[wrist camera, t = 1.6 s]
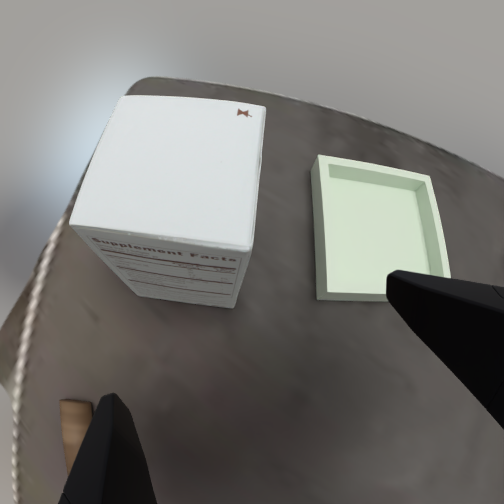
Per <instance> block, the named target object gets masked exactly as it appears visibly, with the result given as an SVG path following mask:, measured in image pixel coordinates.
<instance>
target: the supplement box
mask: <svg viewBox="0 0 504 504" xmlns="http://www.w3.org/2000/svg"><path fill="white" fill-rule="evenodd" d="M265 116H266V108H265V107H264V106H258V105H253V104H247V103H240V102H233V101H224V100H214V99H203V98H188V97H172V96H143V95H132V96H122V97H120V99H119V101H118V103H117V105H116V107H115V109H114V111H113V113H112V115H111V117H110V119H109V121H108V124H107V126H106V128H105V130H104V132H103V134H102V137H101V139H100V141H99V144H98V146H97V148H96V151H95V153H94V155H93V158H92V160H91V163H90V165H89V168H88V170H87V173H86V175H85V178H84V181H83V183H82V186H81V189H80V191H79V194H78V197H77V200H76V203H75V206H74V209H73V212H72V215H71V217H70V220H69V225H70V226H71V227H72V228H73V229H74V230H75V231H76V233H77V234H78V235H79V236H80V237H81V238H82V239H83V240H84V241H85V242H86V244H87V245H88V246H89V247H90V248H91V249H92V250H93V251H94V252H95V253H96V254H97V255H98V256H99V257H100V258H101V259H102V260H103V261H104V263H105V264H107V265H108V266H109V267H110V269H111V270H112V271H113V272H114V273H115V274H116V275H117V276H118V277H119V278H120V279H121V280H122V281H123V282H124V283H125V284H126V285H127V286H128V287H129V288H130V289H131V290H132V291H133V292H134V293H135V294H136V295H138V296H141V297H149V298H156V299H163V300H170V301H177V302H184V303H192V304H199V305H207V306H215V307H223V308H234V307H235V303H236V299H237V296H238V293H239V290H240V287H241V284H242V281H243V278H244V275H245V272H246V269H247V266H248V263H249V259H250V256H251V252H252V247H253V241H254V230H255V219H256V209H257V198H258V188H259V178H260V169H261V161H262V145H263V135H264V125H265Z"/></svg>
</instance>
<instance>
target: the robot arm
mask: <svg viewBox="0 0 504 504" xmlns="http://www.w3.org/2000/svg"><path fill="white" fill-rule="evenodd" d="M386 297H387V300H388V301H389V302H390V304H391V305H392V306H393V307H394V309H395V310H396V311H397V312H398V313H399V315H400V316H401V317H402V318H403V320H404V321H405V322H406V323H407V325H408V326H409V327H410V328H411V329H412V331H413V332H414V333H415V334H416V335H417V336H418V337H419V338H420V339H421V340H422V341H423V342H424V343H425V344H426V345H427V346H428V347H429V348H430V349H431V350H432V351H433V352H434V353H435V355H436V356H437V357H438V358H439V359H440V360H441V361H442V362H443V363H444V364H445V365H446V366H447V367H448V368H449V369H450V370H451V371H452V372H453V373H454V375H455V376H456V377H457V378H458V379H459V380H460V381H461V382H462V383H463V384H464V385H465V386H466V387H467V389H468V390H469V391H470V392H471V393H472V394H473V395H474V396H475V397H476V398H477V400H478V401H479V402H480V403H481V404H482V405H483V406H484V407H485V408H486V410H487V411H488V412H489V413H490V414H491V415H492V417H493V418H494V419H495V420H496V421H497V422H498V423H499V425H500V426H501V427H502V428H503V429H504V287H500V286H494V285H492V286H491V285H488V284H482V283H476V282H470V281H464V280H458V279H452V278H446V277H440V276H434V275H428V274H422V273H416V272H410V271H404V270H395V271H393V272H391V273H389V274H388V275H387V277H386ZM63 492H64V493H62V494H61V497H60V500H59V503H58V504H157V502H156V498H155V495H154V491H153V487H152V483H151V479H150V475H149V471H148V467H147V463H146V459H145V456H144V453H143V450H142V447H141V444H140V441H139V438H138V435H137V431H136V428H135V425H134V422H133V418H132V415H131V413H130V411H129V409H128V408H127V406H126V405H125V404H124V403H123V402H122V400H121V399H120V398H119V397H118V395H117V394H115V393H110V394H107V395H104V396H102V397H101V399H100V401H99V404H98V406H97V408H96V410H95V413H94V415H93V417H92V420H91V422H90V424H89V427H88V429H87V431H86V434H85V436H84V438H83V441H82V443H81V446H80V448H79V450H78V453H77V455H76V458H75V460H74V463H73V465H72V468H71V471H70V473H69V476H68V478H67V481H66V484H65V486H64V489H63Z"/></svg>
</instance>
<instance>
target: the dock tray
mask: <svg viewBox="0 0 504 504" xmlns="http://www.w3.org/2000/svg"><path fill="white" fill-rule="evenodd" d="M310 172H311V185H312V200H313V217H314V237H315V261H316V299H317V300H337V301H385V302H389V301H388V300H387V297H386V277H387V275H388V274H389V273H391V272H393V271H395V270H404V271H410V272H416V273H422V274H428V275H434V276H440V277H446V278H451V276H450V270H449V263H448V257H447V251H446V245H445V240H444V235H443V230H442V225H441V220H440V216H439V212H438V207H437V203H436V199H435V195H434V191H433V187H432V184H431V180H430V176H427V175H423V174H418V173H414V172H410V171H405V170H400V169H396V168H391V167H386V166H381V165H376V164H371V163H365V162H360V161H354V160H348V159H342V158H336V157H330V156H323V155H318V156H317V158H316V161H315V163H314V165H313V167H312V169H311V171H310Z"/></svg>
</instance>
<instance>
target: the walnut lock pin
mask: <svg viewBox="0 0 504 504" xmlns="http://www.w3.org/2000/svg"><path fill="white" fill-rule="evenodd" d="M59 401H60V416H61V427H62V437H63V446H64V453H65V460H66V467H67V473H68V476H69V473H70V471H71V468H72V465H73V463H74V460H75V458H76V455H77V453H78V450H79V448H80V446H81V443H82V441H83V438H84V436H85V434H86V431H87V429H88V427H89V424H90V422H91V420H92V409H91V402H87V401H79V400H70V399H63V400H59Z"/></svg>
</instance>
